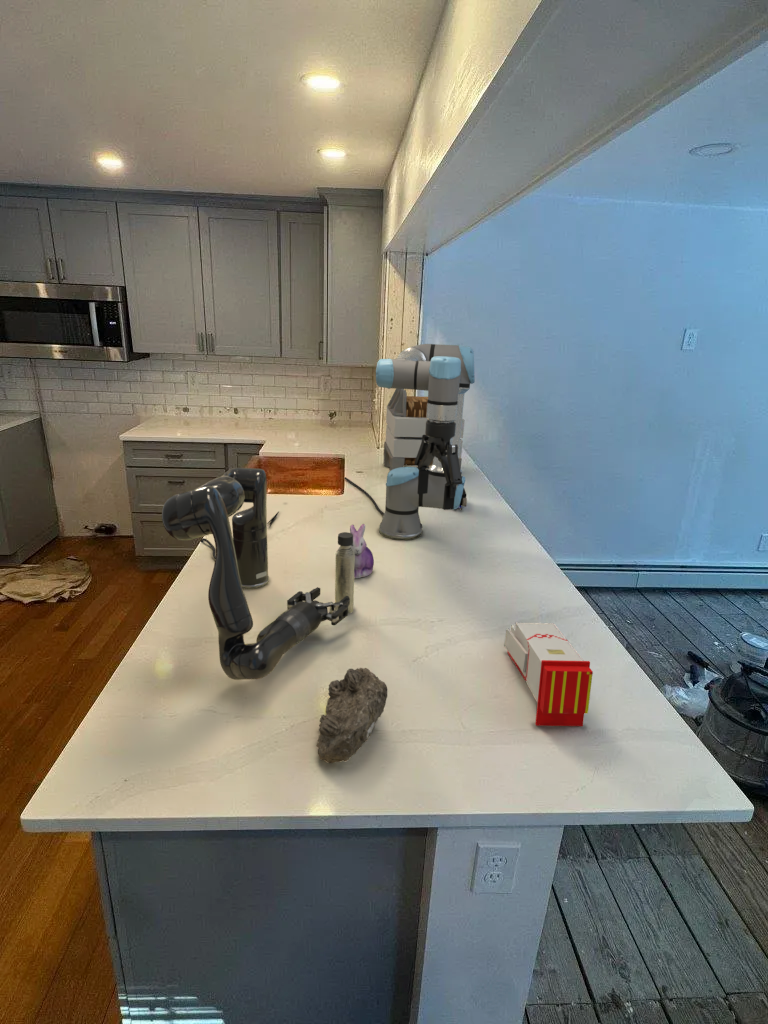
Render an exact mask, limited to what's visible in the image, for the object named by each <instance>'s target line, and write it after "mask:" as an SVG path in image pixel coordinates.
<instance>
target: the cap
mask: <svg viewBox="0 0 768 1024" xmlns="http://www.w3.org/2000/svg"><path fill="white" fill-rule="evenodd" d="M337 544H338V546H340V545H341V546H351V545H352V544H353V534H352V533H350V532H348V531H343V532H340V533H338V535H337Z"/></svg>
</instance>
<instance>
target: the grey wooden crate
mask: <svg viewBox="0 0 768 1024" xmlns="http://www.w3.org/2000/svg"><path fill="white" fill-rule="evenodd" d="M407 394H408V393H407V389H395V390H394V392H393V394H392V395H391V398H390V400H389V402H388V404H387V405H386V413H385V414H386V415H385V423H386V428H385V438H384V442H383V466H384V467H388V468H389V472H390V471H391V470H393V469H396V468H400V467H405V466H406V467H416V466H415V460H416V457H417V454H418V451H419V448H420V445H421V442H422V436H423V435H426V434H425V429H426V421H427V420H428V419H427V418H426V413H427V402H428V396H415V395H414V396H413V395H412V396H411V395H407ZM464 429H465V419H464V418H462V426H461V437H460V448H459V465H460V469H461V470H462V461H463V460H462V453H463V442H464V441H463V440H462V439H463V438H464V431H465V430H464ZM419 461H421V460H419ZM432 464H433V460H432V462H431V463H430V465H429V467H430V466H431V465H432Z"/></svg>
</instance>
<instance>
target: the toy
mask: <svg viewBox="0 0 768 1024" xmlns="http://www.w3.org/2000/svg"><path fill="white" fill-rule="evenodd" d="M503 645H504V647H505V649H506V650H507V655H508V656H509V658H510V659H511V662H513V664H514V666H515V667H516V669H517V670H518V672H519V673H520V675H521V676H522V679H523V680H524V681H525V683H526V686H527V687H528V689H529V690H530V693H531V694H532V696H533V698H534V700H535V701H536V703H537V704H536V714H535V722H534V723H535V726H537V727H541V726H542V727H583V726H584V719H585V715H586V714H587V715H588V714H589V706H590V705H589V704H590V699H591V691H592V683H593V682H592V681H593V674H594V673H593V672H594V671H593V670H592V669H591V668H590V667H591V661H590V660H584V659H583V658H582V657H581V655H580V654H579V653H578V651H577V650H576V649H575V648H574V647H573V645H572V644H571V643H570V642H569V640H568V639H567V638H566V636H564V633H562V632H561V630H560V629H559V628H558V627H557V625H556V624H555V623H553V622H515V624H511V625H510V628H506V630H505V638H504V644H503Z"/></svg>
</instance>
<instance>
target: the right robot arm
mask: <svg viewBox="0 0 768 1024" xmlns="http://www.w3.org/2000/svg"><path fill="white" fill-rule="evenodd" d="M474 352H475V351H474V349H473V348H472V347H471V346H467V345H460V344H440V343H439V344H438V343H437V344H436V343H435V344H434V343H421V344H416V345H413V346H409V347H406V348H404V349H403V350H402V351H400V352H399V354H398V355H397V357H396V358H389V357H388V358H380V359H379V360H378V361H377V364H376V368H375V383H376V386H377V387H379V388H384V389H388V390H390V389H395V390H396V389H404V390H414V391H427V397H428V402H427V413H426V418H427V419H428V420H427V421H426V429H425V434H426V435H423V436H422V442H421V445H420V448H419V451H418V454H417V457H416V460H415V466H404V467H400V468H396V469H393V470H391V471H390V470H389V471H388V473H387V475H386V482H385V504H384V505H385V507H384V508H385V509H384V511H383V510H382V509H381V508H380V507H379V505H378V504H377V502H376V501H375V499H374V498H373V497H372V496H371V495H370V494H369V493H368V492H367V491H366V490H365V489H363V488H362V487H361V486H359V485H358V484H356V483H355V482H354V481H352V480H351V479H349V478H347V477H345V476H344V480H345V481H347V482H348V483H349V484H350V485H352V486H354V487H355V488H357V489H358V490H360V491H361V492H362V493H364V494H365V495H366V496H367V498H369V499H370V500H371V502H372V503H373V505H374V507H375V509H376V510H377V512H379V513H380V514H381V515H382V519H381V522H379V525H378V533H379V534H380V535H381V536H382V537H385V538H387V539H389V540H395V541H410V540H415V539H418V538H420V537H421V536H422V535H423V524H422V523H421V518H420V515H419V508H431V509H441V510H443V511H448V510H454V509H455V510H457V509H459V508H460V507H459V505H460V501H461V497H462V493H463V488H464V489H465V483H466V477H465V476H464V475H463V474H462V473H463V471H462V468H461V469H460V465H459V448H460V439H461V438H460V437H461V426H462V419H463V414H464V403H465V394H466V393H467V392H468V391H470V388H471V385H472V384H475V382H476V381H475V379H476V377H475V353H474ZM419 460H421V461H419ZM432 460H433V464H432V465H430V463H431V462H432ZM429 465H430V466H429ZM458 507H459V508H458Z"/></svg>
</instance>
